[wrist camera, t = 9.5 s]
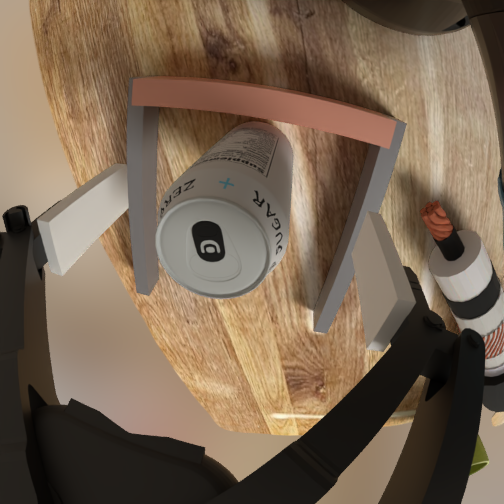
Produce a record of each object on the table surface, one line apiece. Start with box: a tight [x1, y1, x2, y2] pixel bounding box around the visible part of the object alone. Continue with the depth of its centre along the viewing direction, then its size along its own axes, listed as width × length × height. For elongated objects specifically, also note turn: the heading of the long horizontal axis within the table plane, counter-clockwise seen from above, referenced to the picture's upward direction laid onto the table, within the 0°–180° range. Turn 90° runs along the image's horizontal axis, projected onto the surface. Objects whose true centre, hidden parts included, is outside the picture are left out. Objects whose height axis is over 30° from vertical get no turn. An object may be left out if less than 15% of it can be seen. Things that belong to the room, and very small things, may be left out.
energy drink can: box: [155, 122, 293, 299], centre depth 18 cm, size 6×6×15 cm
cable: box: [420, 201, 504, 412], centre depth 26 cm, size 10×34×10 cm, turn 46°
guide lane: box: [127, 76, 406, 333], centre depth 25 cm, size 22×21×5 cm
